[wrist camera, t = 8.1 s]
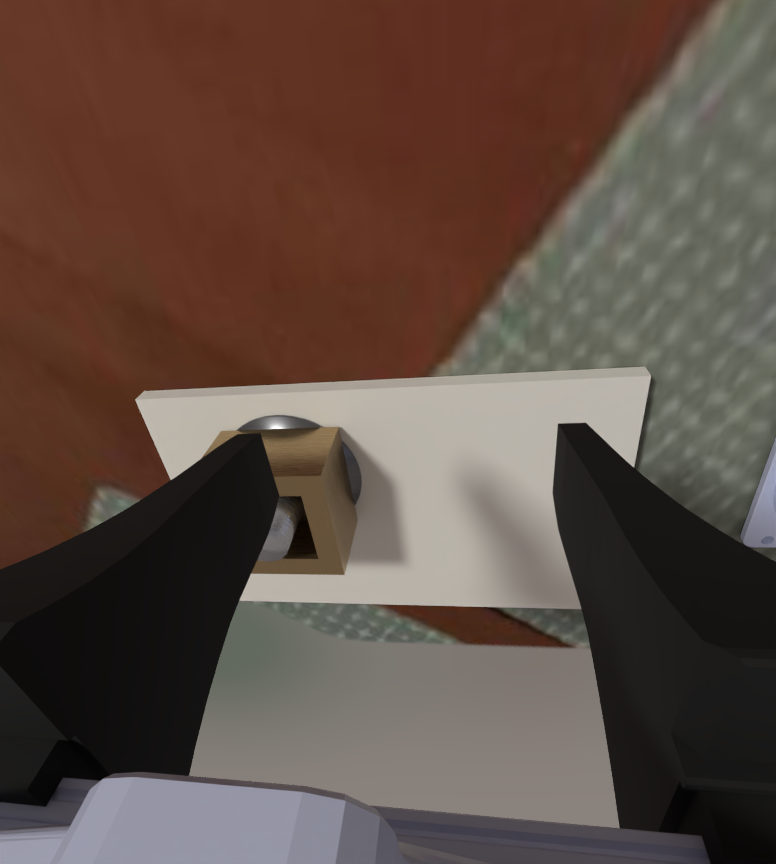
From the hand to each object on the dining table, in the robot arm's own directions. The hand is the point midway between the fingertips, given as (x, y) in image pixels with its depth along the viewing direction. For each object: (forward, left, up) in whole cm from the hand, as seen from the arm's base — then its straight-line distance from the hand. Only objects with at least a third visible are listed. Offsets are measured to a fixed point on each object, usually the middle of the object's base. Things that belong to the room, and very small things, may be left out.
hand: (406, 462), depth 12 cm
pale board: (+3, +10, -9) cm, 14 cm away
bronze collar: (+7, +7, -8) cm, 13 cm away
